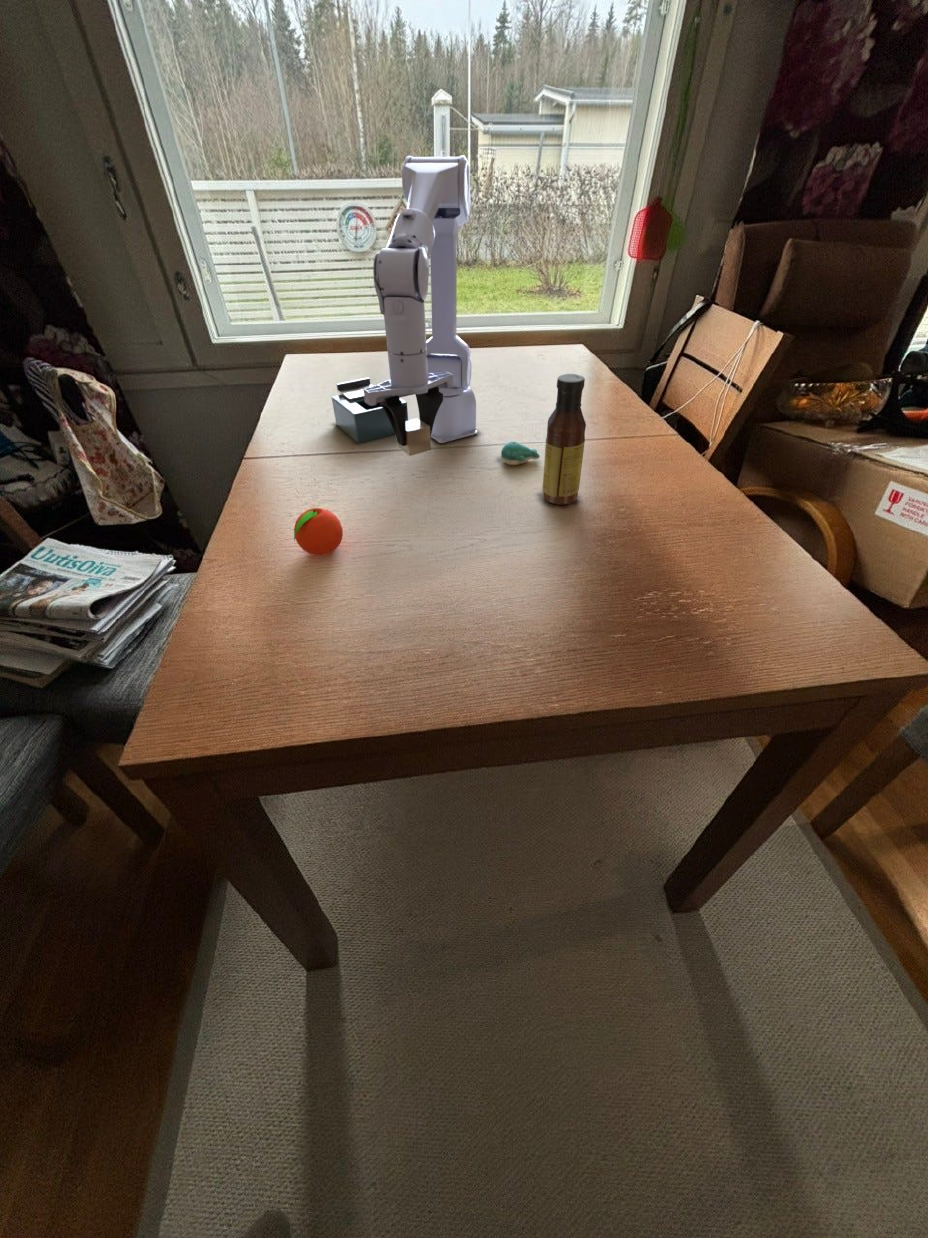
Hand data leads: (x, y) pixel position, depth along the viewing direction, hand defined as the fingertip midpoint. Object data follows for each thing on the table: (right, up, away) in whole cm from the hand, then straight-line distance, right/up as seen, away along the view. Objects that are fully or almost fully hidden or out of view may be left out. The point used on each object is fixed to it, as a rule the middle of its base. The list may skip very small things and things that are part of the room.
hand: (413, 440), depth 82 cm
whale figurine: (+19, +1, +16) cm, 25 cm away
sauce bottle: (+25, -8, +6) cm, 27 cm away
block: (0, -1, +1) cm, 1 cm away
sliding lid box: (-12, +13, +28) cm, 33 cm away
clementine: (-13, -20, -6) cm, 25 cm away
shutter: (-14, +20, +27) cm, 37 cm away
